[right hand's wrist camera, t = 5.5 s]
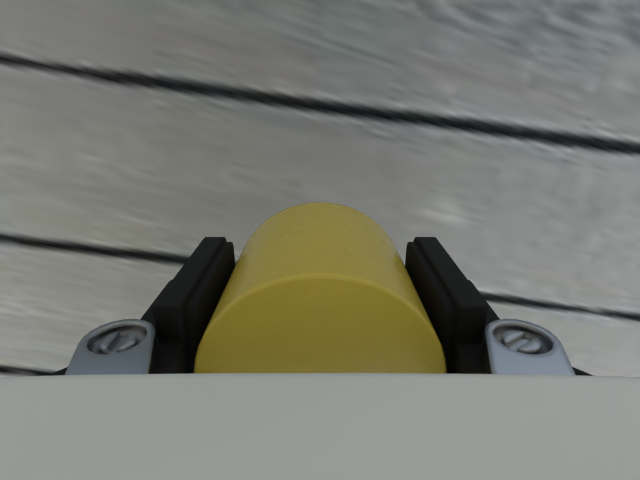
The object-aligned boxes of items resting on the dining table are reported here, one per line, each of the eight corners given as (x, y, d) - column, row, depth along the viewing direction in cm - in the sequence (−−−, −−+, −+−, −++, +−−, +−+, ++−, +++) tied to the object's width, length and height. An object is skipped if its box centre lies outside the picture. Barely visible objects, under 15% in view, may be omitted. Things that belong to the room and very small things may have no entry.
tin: (425, 225, 11) (489, 310, 7) (373, 363, 13) (400, 499, 9) (255, 182, 11) (214, 244, 7) (224, 331, 13) (175, 457, 8)
